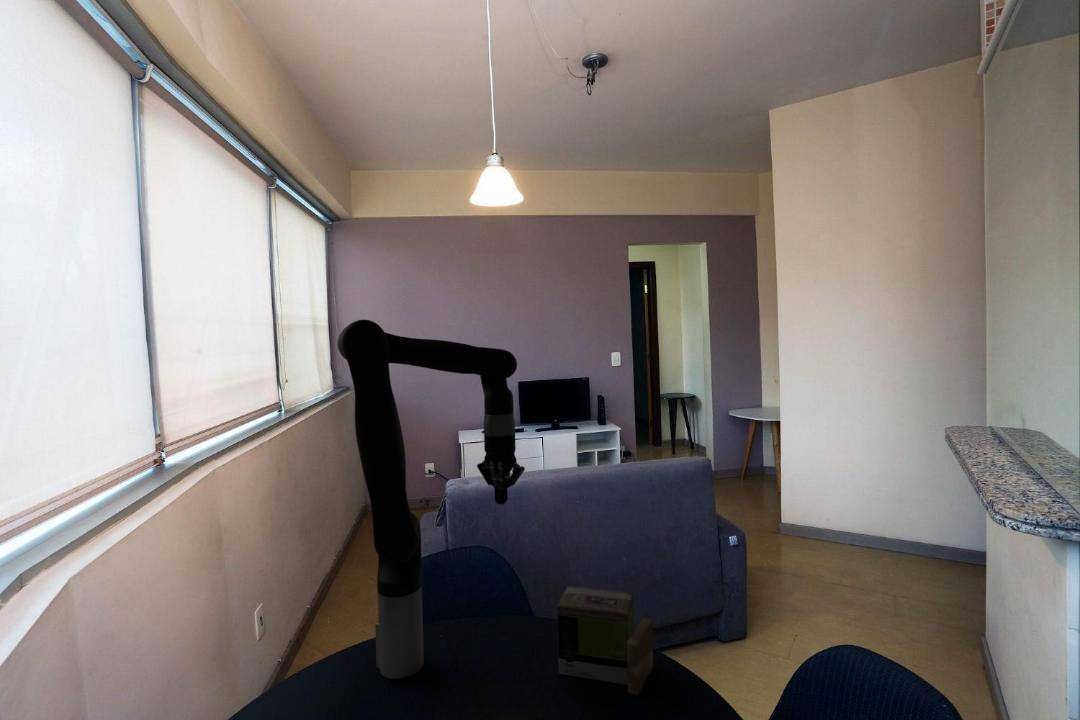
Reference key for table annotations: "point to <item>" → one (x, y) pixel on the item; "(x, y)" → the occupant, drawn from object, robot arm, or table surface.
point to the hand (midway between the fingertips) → (501, 503)
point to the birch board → (639, 656)
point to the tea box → (594, 633)
